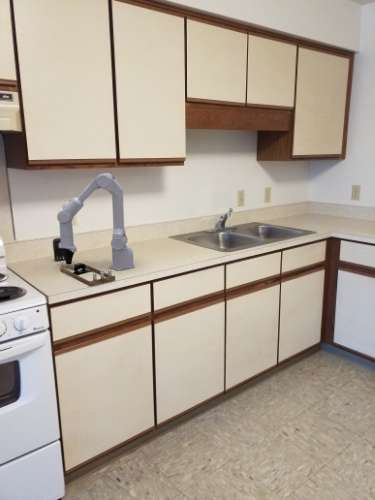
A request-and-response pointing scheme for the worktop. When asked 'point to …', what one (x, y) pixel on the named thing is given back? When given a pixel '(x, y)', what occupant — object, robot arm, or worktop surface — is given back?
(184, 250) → the worktop surface
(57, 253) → the battery charger
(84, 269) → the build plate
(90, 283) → the loading bay
